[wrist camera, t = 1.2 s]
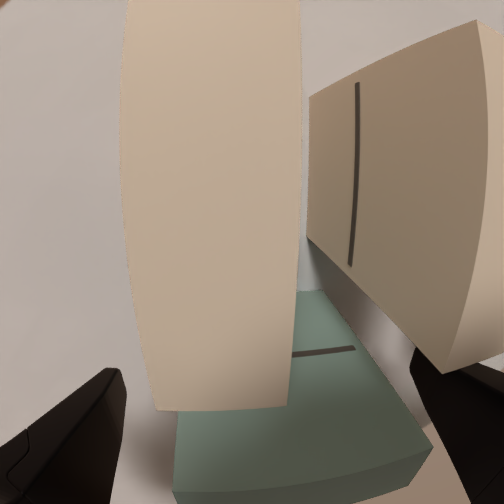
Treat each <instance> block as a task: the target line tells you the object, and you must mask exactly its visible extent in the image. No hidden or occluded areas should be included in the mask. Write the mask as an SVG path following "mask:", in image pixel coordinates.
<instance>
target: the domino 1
mask: <svg viewBox="0 0 504 504" xmlns="http://www.w3.org/2000/svg"><path fill="white" fill-rule="evenodd" d="M119 143H120V177H121V196H122V210H123V223H124V233H125V243H126V252H127V261H128V269H129V276H130V283H131V290H132V297H133V303H134V309H135V315H136V321H137V326H138V332H139V337H140V342H141V347H142V352H143V357H144V361H145V366H146V370H147V375H148V379H149V383H150V387H151V391H152V395H153V399H154V403H155V407H156V411H225V410H245V409H259V408H271V407H281V406H287V398H288V388H289V378H290V367H291V356H292V344H293V332H294V318H295V304H296V289H297V272H298V253H299V232H300V205H301V169H302V58H301V25H300V2H299V0H128V7H127V15H126V23H125V32H124V42H123V53H122V67H121V84H120V118H119Z"/></svg>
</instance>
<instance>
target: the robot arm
mask: <svg viewBox="0 0 504 504" xmlns="http://www.w3.org/2000/svg"><path fill="white" fill-rule="evenodd" d="M410 373H411V376H412V378H413V380H414V383H415V385H416V388H417V390H418V392H419V395H420V397H421V400H422V402H423V405H424V407H425V409H426V411H427V413H428V415H429V417H430V419H431V421H432V423H433V425H434V427H435V428H436V430H437V432H438V434H439V436H440V438H441V440H442V442H443V444H444V446H445V448H446V450H447V452H448V454H449V456H450V458H451V461H452V463H453V465H454V467H455V469H456V471H457V473H458V475H459V478H460V480H461V482H462V484H463V486H464V489H465V491H466V493H467V495H468V498H469V500H470V502H471V504H504V373H503V372H501V371H498V370H495V369H493V368H490V367H487V366H485V365H482V364H480V363H475V364H472V365H469V366H466V367H463V368H460V369H457V370H454V371H451V372H448V373H445V374H441V372H440V371H439V370H438V369H437V368H436V367H435V366H434V365H433V364H432V363H431V361H430V360H429V359H428V358H427V357H426V356H425V355H424V354H423V353H422V352H421V351H420V350H419V348H418V347H417V346H416V348H415V350H414V353H413V357H412V360H411V363H410ZM126 399H127V392H126V387H125V384H124V381H123V377H122V374H121V371H120V370H119V369H118V368H105V369H103V370H102V371H101V372H99V373H98V374H97V375H95V376H94V377H93V378H92V379H90V380H89V381H88V382H86V383H85V384H84V385H82V386H81V387H80V388H78V389H77V390H76V391H74V392H73V393H72V394H71V395H69V396H68V397H67V398H65V399H64V400H63V401H61V402H60V403H59V404H57V405H56V406H55V407H54V408H52V409H51V410H50V411H48V412H47V413H46V414H44V415H43V416H42V417H40V418H39V419H38V420H36V421H35V422H34V423H33V424H31V425H30V426H29V427H28V428H27V429H25V430H23V431H22V432H21V433H19V434H18V435H17V436H15V437H14V438H12V439H11V440H10V441H8V442H7V443H5V444H4V445H2V446H1V447H0V504H110V499H111V493H112V488H113V482H114V477H115V472H116V467H117V462H118V457H119V453H120V448H121V443H122V436H123V426H124V416H125V407H126Z"/></svg>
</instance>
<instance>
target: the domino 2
mask: <svg viewBox="0 0 504 504" xmlns="http://www.w3.org/2000/svg"><path fill="white" fill-rule="evenodd" d="M432 449H433V445H432V444H431V442H430V441H429V439H428V438H427V436H426V435H425V433H424V432H423V430H422V429H421V427H420V426H419V424H418V423H417V422H416V420H415V419H414V417H413V416H412V414H411V413H410V411H409V410H408V408H407V407H406V405H405V404H404V403H403V401H402V400H401V398H400V397H399V395H398V394H397V392H396V391H395V390H394V388H393V387H392V385H391V384H390V382H389V381H388V380H387V378H386V377H385V375H384V374H383V373H382V371H381V370H380V368H379V367H378V365H377V364H376V363H375V361H374V360H373V358H372V357H371V356H370V354H369V353H368V352H367V350H366V349H365V347H364V346H363V345H362V343H361V342H360V340H359V339H358V338H357V336H356V335H355V334H354V332H353V331H352V329H351V328H350V327H349V325H348V324H347V323H346V321H345V320H344V319H343V317H342V316H341V314H340V313H339V312H338V310H337V309H336V308H335V306H334V305H333V304H332V302H331V301H330V300H329V298H328V297H327V296H326V294H325V293H324V292H323V290H316V291H299V292H296V304H295V318H294V332H293V344H292V356H291V367H290V378H289V388H288V398H287V406H281V407H271V408H259V409H245V410H225V411H178V420H177V431H176V443H175V456H174V471H173V488H172V492H173V494H174V497H175V499H176V501H177V503H178V504H353V503H356V502H360V501H363V500H367V499H370V498H373V497H377V496H380V495H383V494H386V493H389V492H392V491H394V490H398V489H400V488H403V487H406V486H408V485H409V484H410V482H411V481H412V479H413V478H414V476H415V475H416V473H417V472H418V471H419V469H420V468H421V466H422V465H423V463H424V462H425V460H426V458H427V457H428V455H429V454H430V452H431V450H432Z"/></svg>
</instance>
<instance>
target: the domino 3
mask: <svg viewBox="0 0 504 504" xmlns="http://www.w3.org/2000/svg"><path fill="white" fill-rule="evenodd" d="M306 236H307V237H308V238H309V239H310V240H311V241H312V242H313V243H314V244H315V245H316V246H318V247H319V248H320V249H321V250H322V251H323V252H324V253H325V254H326V255H327V256H328V257H329V258H330V259H331V260H332V261H333V262H334V263H335V264H336V265H337V266H338V267H339V268H340V269H341V270H342V271H343V272H344V273H345V274H346V275H347V276H348V277H349V278H350V279H351V280H352V281H353V282H354V283H355V284H356V285H357V286H358V287H359V288H360V289H361V290H362V291H363V292H364V293H365V294H366V295H367V296H368V297H369V298H370V299H371V300H372V301H373V302H374V303H375V304H376V305H377V306H378V307H379V308H380V309H381V310H382V311H383V312H384V313H385V314H386V315H387V316H388V317H389V318H390V319H391V320H392V321H393V322H394V323H395V324H396V325H397V326H398V327H399V328H400V329H401V330H402V332H403V333H404V334H405V335H406V336H407V337H408V338H409V339H410V340H411V341H412V342H413V343H414V344H415V345H416V346H417V347H418V348H419V350H420V351H421V352H422V353H423V354H424V355H425V356H426V357H427V358H428V359H429V360H430V361H431V363H432V364H433V365H434V366H435V367H436V368H437V369H438V370H439V371H440V372H441V374H445V373H448V372H451V371H454V370H457V369H460V368H463V367H466V366H469V365H472V364H475V363H477V362H480V361H483V360H486V359H488V358H491V357H493V356H496V355H499V354H501V353H503V352H504V36H503V35H501V34H500V33H498V32H497V31H495V30H493V29H492V28H490V27H488V26H486V25H485V24H483V23H481V22H479V21H478V20H474V21H471V22H468V23H466V24H463V25H460V26H458V27H455V28H452V29H450V30H447V31H445V32H442V33H439V34H437V35H435V36H432V37H430V38H427V39H425V40H423V41H420V42H418V43H416V44H413V45H411V46H409V47H406V48H404V49H402V50H400V51H398V52H395V53H393V54H391V55H389V56H387V57H385V58H383V59H381V60H378V61H376V62H374V63H372V64H370V65H368V66H366V67H364V68H362V69H360V70H358V71H356V72H354V73H352V74H351V75H349V76H347V77H345V78H343V79H341V80H339V81H337V82H335V83H334V84H332V85H330V86H328V87H326V88H324V89H323V90H321V91H319V92H317V93H315V94H314V95H312V96H310V97H309V176H308V207H307V230H306Z"/></svg>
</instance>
